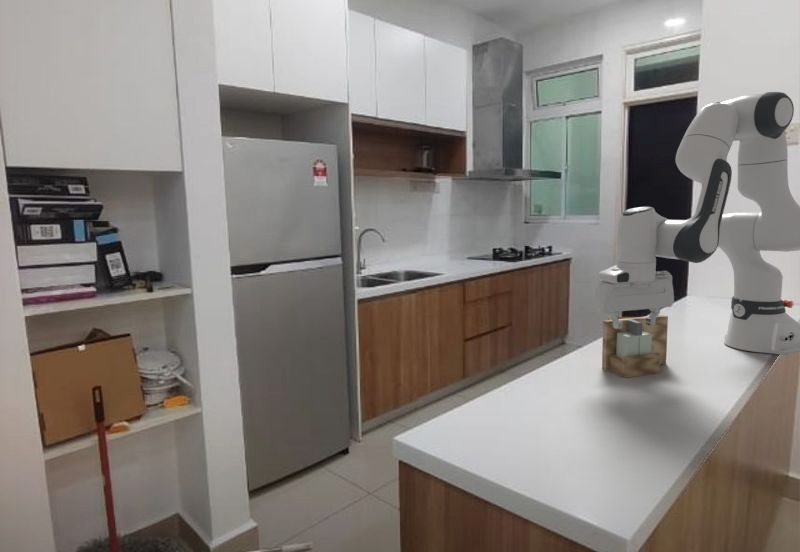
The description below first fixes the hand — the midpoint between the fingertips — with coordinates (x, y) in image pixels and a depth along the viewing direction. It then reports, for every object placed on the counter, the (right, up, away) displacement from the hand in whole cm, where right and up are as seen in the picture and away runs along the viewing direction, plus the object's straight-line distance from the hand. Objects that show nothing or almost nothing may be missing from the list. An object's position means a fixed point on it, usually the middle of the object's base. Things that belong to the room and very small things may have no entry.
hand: (634, 326), depth 125 cm
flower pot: (+7, -9, +19) cm, 23 cm away
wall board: (+3, -11, +3) cm, 12 cm away
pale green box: (0, -8, +1) cm, 8 cm away
